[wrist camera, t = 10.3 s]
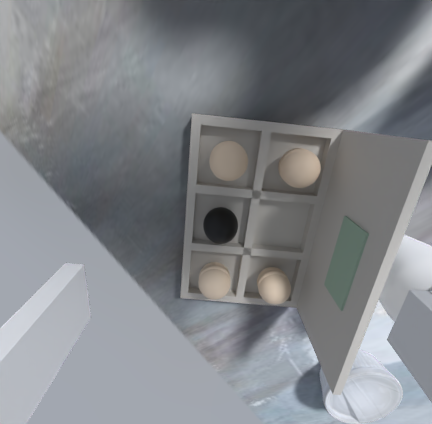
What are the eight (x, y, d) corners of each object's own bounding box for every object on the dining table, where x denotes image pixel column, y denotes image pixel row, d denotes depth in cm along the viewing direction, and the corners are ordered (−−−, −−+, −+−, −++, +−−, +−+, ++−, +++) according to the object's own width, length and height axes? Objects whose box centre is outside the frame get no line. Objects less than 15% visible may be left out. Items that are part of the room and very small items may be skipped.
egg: (233, 200, 31) (236, 215, 27) (239, 230, 33) (243, 249, 28) (200, 207, 32) (197, 223, 27) (208, 236, 33) (206, 256, 29)
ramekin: (299, 376, 44) (310, 409, 39) (342, 332, 40) (360, 362, 35) (351, 398, 46) (367, 433, 41) (396, 358, 42) (419, 390, 37)
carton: (193, 113, 29) (175, 113, 16) (341, 129, 30) (440, 141, 16) (182, 288, 37) (164, 382, 24) (297, 297, 38) (340, 395, 25)
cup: (351, 286, 37) (409, 361, 26) (338, 232, 34) (397, 291, 23) (416, 266, 36) (506, 336, 25) (408, 209, 33) (507, 259, 22)
